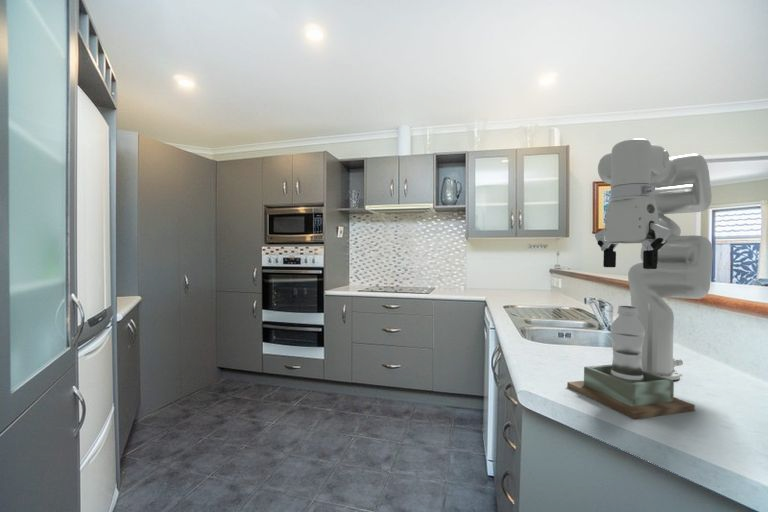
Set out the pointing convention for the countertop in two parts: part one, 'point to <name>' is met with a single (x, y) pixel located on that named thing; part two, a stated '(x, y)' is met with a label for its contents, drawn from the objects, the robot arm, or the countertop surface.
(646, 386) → the green open box
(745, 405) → the countertop surface
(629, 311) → the plastic bottle
